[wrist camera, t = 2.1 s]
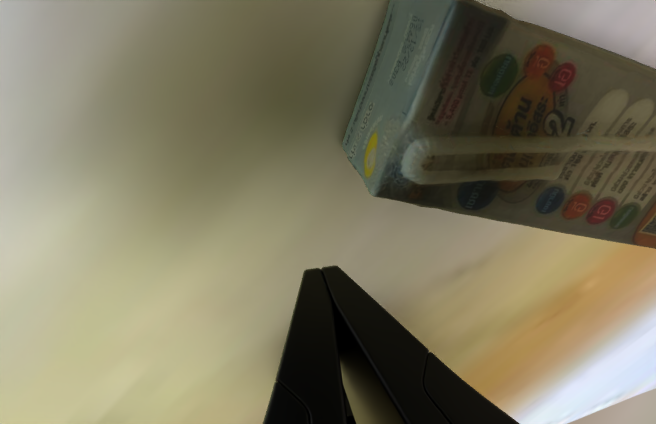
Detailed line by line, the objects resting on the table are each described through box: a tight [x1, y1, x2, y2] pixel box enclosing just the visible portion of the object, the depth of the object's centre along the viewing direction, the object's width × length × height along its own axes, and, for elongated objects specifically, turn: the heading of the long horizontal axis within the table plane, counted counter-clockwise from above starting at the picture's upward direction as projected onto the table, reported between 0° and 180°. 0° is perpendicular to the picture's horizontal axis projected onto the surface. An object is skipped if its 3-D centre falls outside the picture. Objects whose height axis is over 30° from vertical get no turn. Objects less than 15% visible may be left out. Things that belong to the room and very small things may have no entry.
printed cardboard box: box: [342, 0, 656, 249], centre depth 18 cm, size 8×19×6 cm, turn 72°
